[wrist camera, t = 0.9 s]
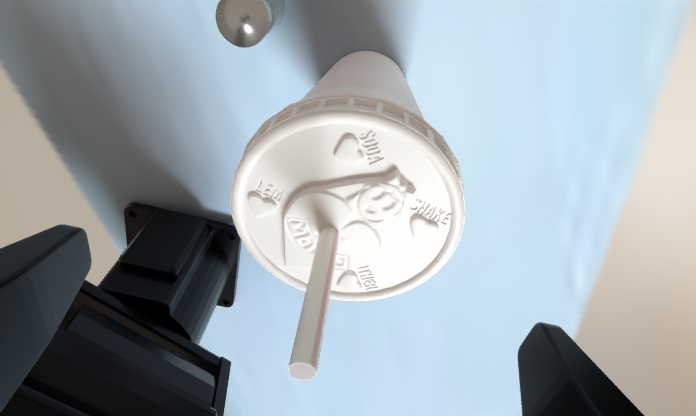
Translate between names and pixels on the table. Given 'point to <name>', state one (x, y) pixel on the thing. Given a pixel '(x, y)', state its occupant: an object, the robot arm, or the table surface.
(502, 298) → the table surface
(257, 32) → the steel rail
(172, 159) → the table surface
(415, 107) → the smoothie
